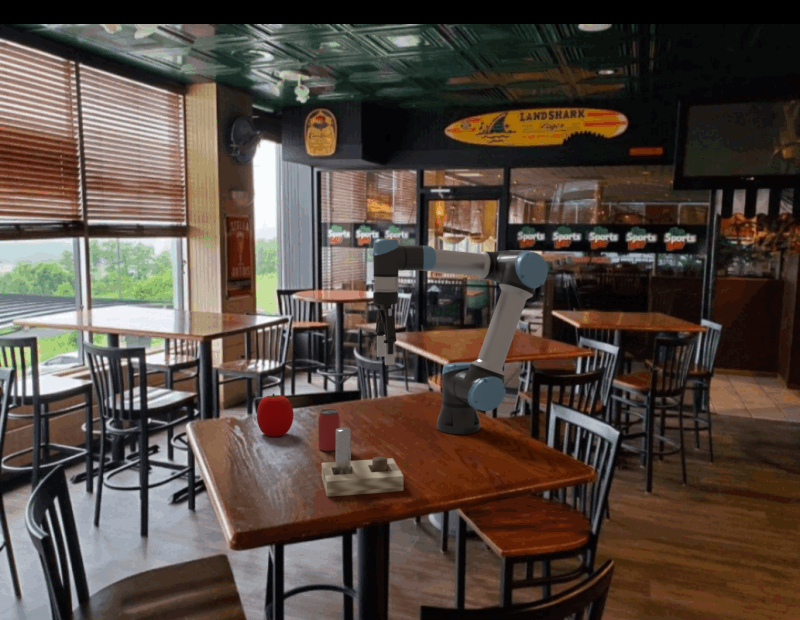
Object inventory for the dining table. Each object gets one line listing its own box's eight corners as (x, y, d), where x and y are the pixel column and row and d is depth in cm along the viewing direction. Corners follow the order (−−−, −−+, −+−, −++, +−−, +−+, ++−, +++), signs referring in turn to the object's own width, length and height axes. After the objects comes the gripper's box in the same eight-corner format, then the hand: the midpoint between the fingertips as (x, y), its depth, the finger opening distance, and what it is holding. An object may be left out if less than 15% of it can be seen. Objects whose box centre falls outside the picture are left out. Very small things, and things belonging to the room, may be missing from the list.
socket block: (392, 471, 183) (392, 449, 182) (403, 490, 169) (403, 466, 169) (321, 476, 179) (321, 454, 178) (326, 496, 165) (326, 472, 164)
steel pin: (349, 478, 175) (349, 427, 174) (351, 483, 171) (351, 431, 170) (334, 479, 174) (334, 428, 173) (336, 484, 170) (336, 432, 169)
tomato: (249, 437, 213) (248, 395, 212) (268, 427, 224) (267, 387, 222) (281, 442, 209) (281, 399, 207) (300, 432, 219) (299, 391, 217)
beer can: (336, 452, 199) (336, 414, 197) (315, 451, 200) (315, 413, 199) (342, 446, 205) (342, 409, 204) (322, 444, 206) (322, 407, 205)
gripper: (366, 287, 205) (366, 353, 208) (381, 294, 181) (380, 369, 183) (389, 287, 207) (389, 352, 209) (407, 294, 183) (406, 368, 185)
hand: (385, 360), depth 196 cm, fingers open, 13 cm apart
